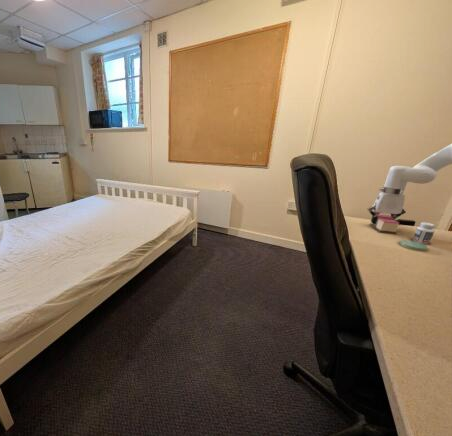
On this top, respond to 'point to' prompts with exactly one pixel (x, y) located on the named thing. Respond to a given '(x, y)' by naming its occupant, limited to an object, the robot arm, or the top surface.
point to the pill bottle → (424, 233)
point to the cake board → (381, 230)
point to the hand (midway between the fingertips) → (381, 223)
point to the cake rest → (387, 225)
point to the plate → (413, 245)
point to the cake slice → (384, 217)
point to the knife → (401, 222)
